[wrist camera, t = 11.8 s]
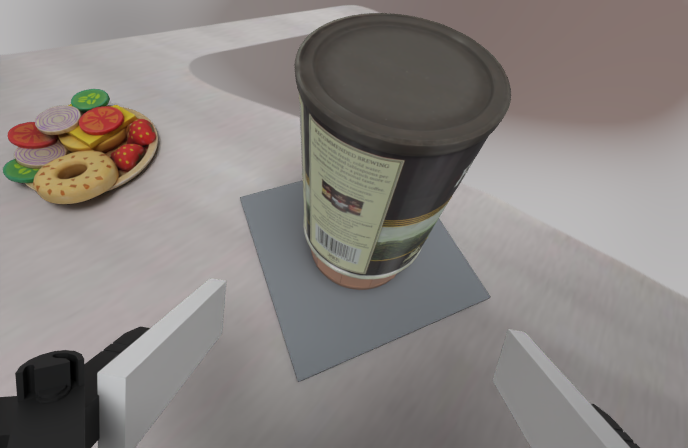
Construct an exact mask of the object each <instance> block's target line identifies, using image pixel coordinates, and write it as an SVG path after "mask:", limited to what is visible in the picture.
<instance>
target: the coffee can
mask: <svg viewBox="0 0 688 448" xmlns="http://www.w3.org/2000/svg"><path fill="white" fill-rule="evenodd" d="M295 77H296V83H297V88H298V91H299V103H300V128H301V150H302V177H303V197H304V224H303V226H304V233H305V237H306V240H307V242H308V244H309V246H310V248H311V250H312V251H313V252H314V254H315V255H316V257H317V258H319V259H320V260H321V261H322V262H323V263H324V264H325V265H327V266H328V267H330V268H331V269H333V270H334V271H336V272H338V273H341V274H343V275H346V276H349V277H352V278H358V279H380V278H386V277H389V276H392V275H394V274H397V273H399V272H401V271H402V270H404V269H405V268H407V267H408V266H409V265H410V264H411V263H412V262H413V261H414V260H415V259H416V258H417V256H418V254H419V253H420V251H421V249H422V246H423V244H424V243H425V241H426V239H427V238H428V236H429V234H430V232H431V230H432V229H433V227H434V225H435V224H436V222H437V220H438V219H439V217H440V215H441V214H442V212H443V210H444V209H445V207H446V205H447V204H448V202H449V200H450V199H451V197H452V195H453V193H454V192H455V190H456V189H457V187H458V186H459V184H460V183H461V181H462V179H463V177H464V176H465V174H466V173H467V171H468V169H469V167H470V166H471V164H472V162H473V161H474V159H475V157H476V156H477V154H478V152H479V151H480V149H481V148H482V146H483V144H484V142H485V141H486V139H487V138H488V136H489V135H490V134H491V133H492V132H493V131H494V130H495V128H496V127H497V126H498V125H499V123H500V122H501V121H502V119H503V118H504V116H505V114H506V112H507V110H508V108H509V105H510V100H511V88H510V84H509V80H508V77H507V76H506V74H505V71H504V69H503V68H502V66H501V65H500V63H499V62H498V61H497V60H496V58H495V57H494V56H493V55H492V54H491V53H490V52H489V51H487V50H486V49H485V48H484V47H482V46H481V45H480V44H478V43H477V42H476V41H474V40H473V39H471V38H470V37H468V36H466V35H464V34H463V33H461V32H458V31H456V30H454V29H452V28H450V27H447V26H445V25H442V24H440V23H437V22H434V21H430V20H426V19H423V18H418V17H413V16H408V15H401V14H387V13H369V14H359V15H352V16H348V17H344V18H340V19H337V20H334V21H332V22H329V23H327V24H325V25H323V26H321V27H319V28H318V29H316V30H315V31H313V32H312V33H311V34H310V35H309V36H308V37H307V38H306V39H305V40H304V42H303V43H302V44H301V46H300V47H299V49H298V52H297V55H296V59H295Z"/></svg>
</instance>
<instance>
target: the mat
mask: <svg viewBox="0 0 688 448" xmlns="http://www.w3.org/2000/svg"><path fill="white" fill-rule="evenodd" d="M240 199H241V202H242V205H243V209H244V212H245V215H246V218H247V221H248V224H249V228H250V231H251V234H252V237H253V240H254V244H255V247H256V250H257V253H258V256H259V259H260V263H261V266H262V269H263V272H264V275H265V278H266V282H267V285H268V288H269V291H270V294H271V297H272V301H273V304H274V307H275V310H276V313H277V316H278V320H279V323H280V326H281V329H282V332H283V335H284V339H285V342H286V345H287V348H288V351H289V354H290V358H291V361H292V364H293V367H294V370H295V373H296V377H297V380H298V382H300V381H302V380H305V379H307V378H309V377H312V376H314V375H316V374H318V373H321V372H323V371H325V370H327V369H330V368H332V367H334V366H337V365H339V364H341V363H343V362H346V361H348V360H350V359H352V358H355V357H357V356H359V355H362V354H364V353H366V352H368V351H371V350H373V349H375V348H377V347H380V346H382V345H384V344H387V343H389V342H391V341H393V340H396V339H398V338H400V337H402V336H405V335H407V334H409V333H412V332H414V331H416V330H418V329H421V328H423V327H425V326H427V325H430V324H432V323H434V322H437V321H439V320H441V319H443V318H446V317H448V316H450V315H452V314H455V313H457V312H459V311H462V310H464V309H466V308H468V307H471V306H473V305H475V304H477V303H480V302H482V301H484V300H487V299H489V298H490V295H489V294H488V292H487V291H486V289H485V288H484V286H483V285H482V283H481V282H480V280H479V279H478V277H477V276H476V274H475V273H474V271H473V269H472V268H471V266H470V265H469V263H468V262H467V260H466V259H465V257H464V256H463V254H462V253H461V251H460V250H459V248H458V247H457V245H456V244H455V242H454V241H453V239H452V238H451V236H450V234H449V233H448V231H447V230H446V228H445V227H444V225H443V224H442V222H441V221H440V219H438V220H437V222H436V224H435V225H434V227H433V229H432V230H431V232H430V234H429V236H428V238H427V239H426V241H425V243H424V244H423V246H422V249H421V251H420V253H419V254H418V256H417V258H416V259H415V260H414V261H413V262H412V263H411V264H410V265H409V266H408V267H407V268H405V269H404V270H402V271H401V272H399V273H397V275H396V276H395V277H394V278H393V279H391V280H390V281H389V282H387V283H386V284H384V285H382V286H379V287H376V288H373V289H367V290H356V289H349V288H346V287H343V286H340V285H338V284H336V283H334V282H332V281H331V280H329V279H328V278H327V277H326V276H325V275H324V274H323V273H322V272H321V271H320V270H319V268H318V267H317V265H316V264H315V262H314V260H313V256H312V253H311V249H310V246H309V244H308V242H307V240H306V237H305V233H304V226H303V224H304V197H303V181H299V182H295V183H292V184H288V185H284V186H280V187H277V188H273V189H269V190H265V191H262V192H258V193H254V194H250V195H246V196H243V197H240Z"/></svg>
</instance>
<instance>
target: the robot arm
mask: <svg viewBox="0 0 688 448" xmlns="http://www.w3.org/2000/svg"><path fill="white" fill-rule="evenodd" d="M225 293H226V281H224V280H219V279H213V278H210V279H209V280H207V281H206V282H205V283H204V284H203V285H201V286H200V287H199V288H198V289H197V290H196V291H194V292H193V293H192V294H191V295H190V296H188V297H187V298H186V299H185V300H184V301H182V302H181V303H180V304H179V305H178V306H176V307H175V308H174V309H173V310H172V311H170V312H169V313H168V314H167V315H166V316H165V317H163V318H162V319H161V320H160V321H159V322H157V323H156V324H155V325H154V326H153V327H151V328H146V327H138V328H136V329H134V330H131V331H129V332H127V333H125V334H123V335H122V336H121V337H119V338H118V339H117V340H116V341H114V342H113V344H110V345H109V346H108V347H106V348H105V349H104V351H101V352H100V353H99V354H97V355H96V356H95V357H93V358H92V359H91V360H90V361H88V362H87V363H86V364H84V358H83V356H82V354H80V353H78V352H76V351H69V350H62V351H53V352H50V353H46V354H42V355H39V356H37V357H35V358H33V359H31V360H28V361H27V362H26V363H24V364H23V365H22V366H20V367H19V369H18V370H17V372H16V373H15V374H16V388H17V396H12V397H0V448H91V447H92V446H93V445H94V444H95V443H96V442H97V441H98V448H135V447H136V446H137V445H138V443H139V442H140V441H141V439H142V438H143V437H144V435H145V434H146V433H147V431H148V430H149V429H150V428H151V426H152V425H153V424H154V422H155V421H156V420H157V418H158V417H159V416H160V414H161V413H162V412H163V410H164V409H165V408H166V407H167V405H168V404H169V403H170V401H171V400H172V399H173V397H174V396H175V395H176V393H177V392H178V391H179V390H180V388H181V387H182V386H183V384H184V383H185V382H186V380H187V379H188V378H189V376H190V375H191V374H192V372H193V371H194V370H195V369H196V367H197V366H198V365H199V363H200V362H201V361H202V359H203V358H204V357H205V355H206V354H207V353H208V351H209V350H210V349H211V348H212V346H213V345H214V344H215V342H216V341H217V340H218V338H219V337H220V336H221V334H222V328H223V317H224V305H225ZM492 381H493V382H494V384H495V386H496V388H497V389H498V391H499V393H500V395H501V396H502V398H503V400H504V402H505V403H506V405H507V407H508V408H509V410H510V412H511V414H512V415H513V417H514V419H515V421H516V422H517V424H518V426H519V428H520V429H521V431H522V433H523V435H524V436H525V438H526V440H527V441H528V443H529V445H530V447H531V448H640V447H639V446H638V445H637V444H635V443H633V440H632V439H631V438H630V437H629V436H628V435H627V434H626V433H625V432H623V429H622V428H621V427H620V426H619V425H618V424H617V423H616V422H615V421H614V420H613V419H612V418H611V417H610V416H609V415H608V414H606V413H605V412H604V411H602V410H601V409H600V408H598V407H597V406H596V405H594V404H590V403H589V402H588V401H587V400H586V399H585V397H584V396H583V395H582V394H581V393H580V392H579V391H578V390H577V389H576V388H575V386H574V385H573V384H572V383H571V382H570V381H569V380H568V379H567V378H566V377H565V376H564V374H563V373H562V372H561V371H560V370H559V369H558V368H557V367H556V366H555V365H554V363H553V362H552V361H551V360H550V359H549V358H548V357H547V356H546V355H545V354H544V352H543V351H542V350H541V349H540V348H539V347H538V346H537V345H536V344H535V343H534V341H533V340H532V339H531V338H530V337H529V336H528V335H527V334H526V333H525V332H523V331H517V330H511V329H508V331H507V334H506V338H505V341H504V344H503V347H502V351H501V354H500V357H499V361H498V364H497V367H496V371H495V374H494V377H493V380H492Z"/></svg>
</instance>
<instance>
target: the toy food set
mask: <svg viewBox="0 0 688 448" xmlns="http://www.w3.org/2000/svg"><path fill="white" fill-rule="evenodd" d="M109 100H110V98H109V96H108V94H107V93H106V92H105V91H103V90H100V89H89V90H84V91H81V92H79V93H77V94H76V95H74V97H73V98H72V99H71V104H70V105H68V106H56V107H52V108H49V109H47V110H45V111H43V112H42V113H40V114H39V115H38V116H37V118H36V120H35V122H28V123H23V124H19V125H17V126H15V127H13V128H11V129H10V130H9V132H8V139H9V141H10V142H11V143H12V144H14V145H16V146H18V148H17V149H16V151H15V153H14V156H15V159H14V160H11V161H9V162H8V163H7V164H6V165H5V166H4V168H3V173H4V175H5V176H6V177H7V178H8V179H9V180H11V181H14V182H19V183H25V184H26V185H27V186H28V187H30V188H31V189H33V190H35V191H36V192H37V193H38V194H39V195H40V196H41V198H43V199H44V200H46V201H48V202H51V203H56V204H72V203H79V202H83V201H86V200H89V199H92V198H94V197H96V196H99V195H100V194H102V193H104V192H107V191H110V190H112V189H115V188H117V187H119V186H121V185H123V184H125V183H127V182H128V181H130V180H131V179H133V178H134V177H135V176H136V175H138V174H139V173H140V172H141V171H142V170H143V169H144V168H145V167H146V166H147V165H148V164H149V162H150V161H151V159H152V158H153V156H154V154H155V152H156V149H157V144H158V135H157V131H156V128H155V126H154V125H153V123H152V122H151V121H150V120H149V119H148V118H147V117H146V116H144V115H143V114H141V113H139V112H137V111H135V110H132V109H129V108H124V107H120V106H118V105H114V106H107V104H108V103H109Z"/></svg>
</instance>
